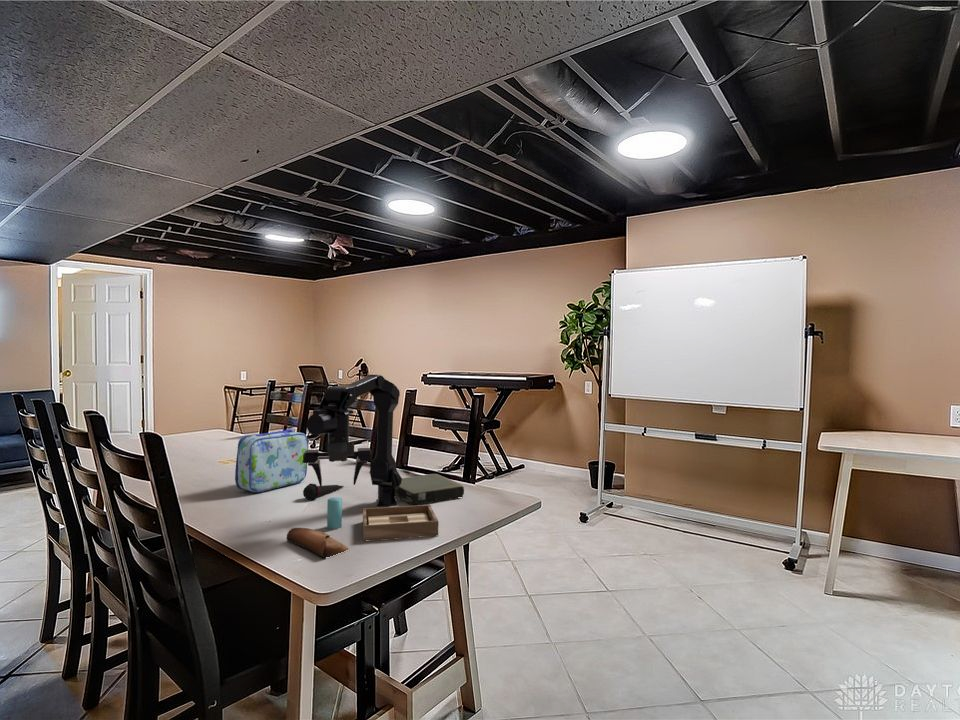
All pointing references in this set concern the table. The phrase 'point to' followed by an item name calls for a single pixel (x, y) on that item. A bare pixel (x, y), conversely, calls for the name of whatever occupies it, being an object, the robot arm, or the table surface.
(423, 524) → the open box
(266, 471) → the lunch box
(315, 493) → the microphone
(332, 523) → the peg
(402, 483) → the network switch
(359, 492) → the table surface
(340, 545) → the sunglasses case
